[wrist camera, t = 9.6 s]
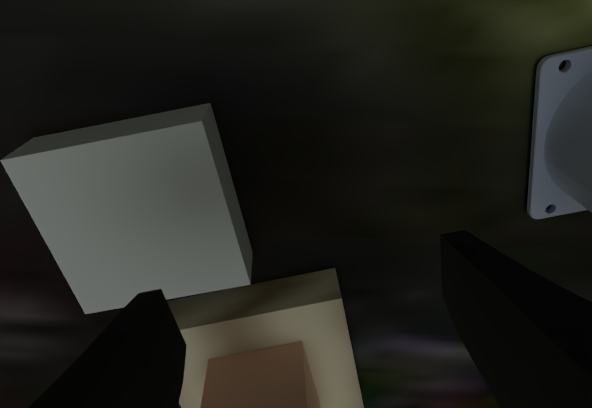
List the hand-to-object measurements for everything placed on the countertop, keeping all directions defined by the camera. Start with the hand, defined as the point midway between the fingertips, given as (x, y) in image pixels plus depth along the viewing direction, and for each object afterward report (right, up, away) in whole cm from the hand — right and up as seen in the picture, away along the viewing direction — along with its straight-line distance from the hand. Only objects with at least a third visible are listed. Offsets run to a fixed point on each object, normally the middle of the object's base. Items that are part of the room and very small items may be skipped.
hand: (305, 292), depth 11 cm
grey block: (-7, +3, +10) cm, 12 cm away
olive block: (-2, -6, +15) cm, 17 cm away
